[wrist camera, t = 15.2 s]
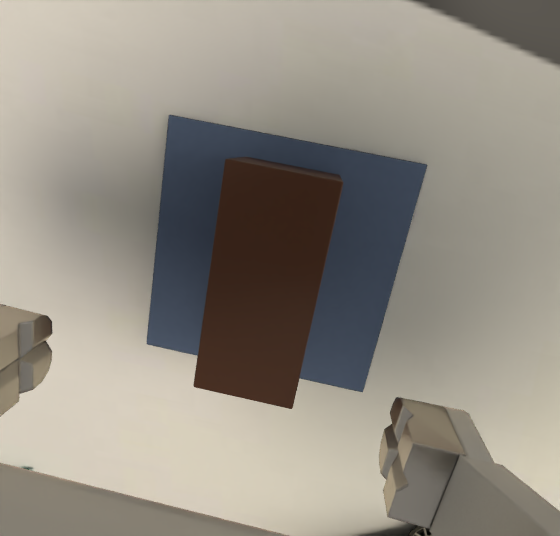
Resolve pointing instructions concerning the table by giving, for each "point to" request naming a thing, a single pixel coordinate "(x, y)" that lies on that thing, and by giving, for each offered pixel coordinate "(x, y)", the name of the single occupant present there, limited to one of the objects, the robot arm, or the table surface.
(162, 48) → the table surface
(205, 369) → the brown rectangular block
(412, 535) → the toy car
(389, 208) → the cloth
